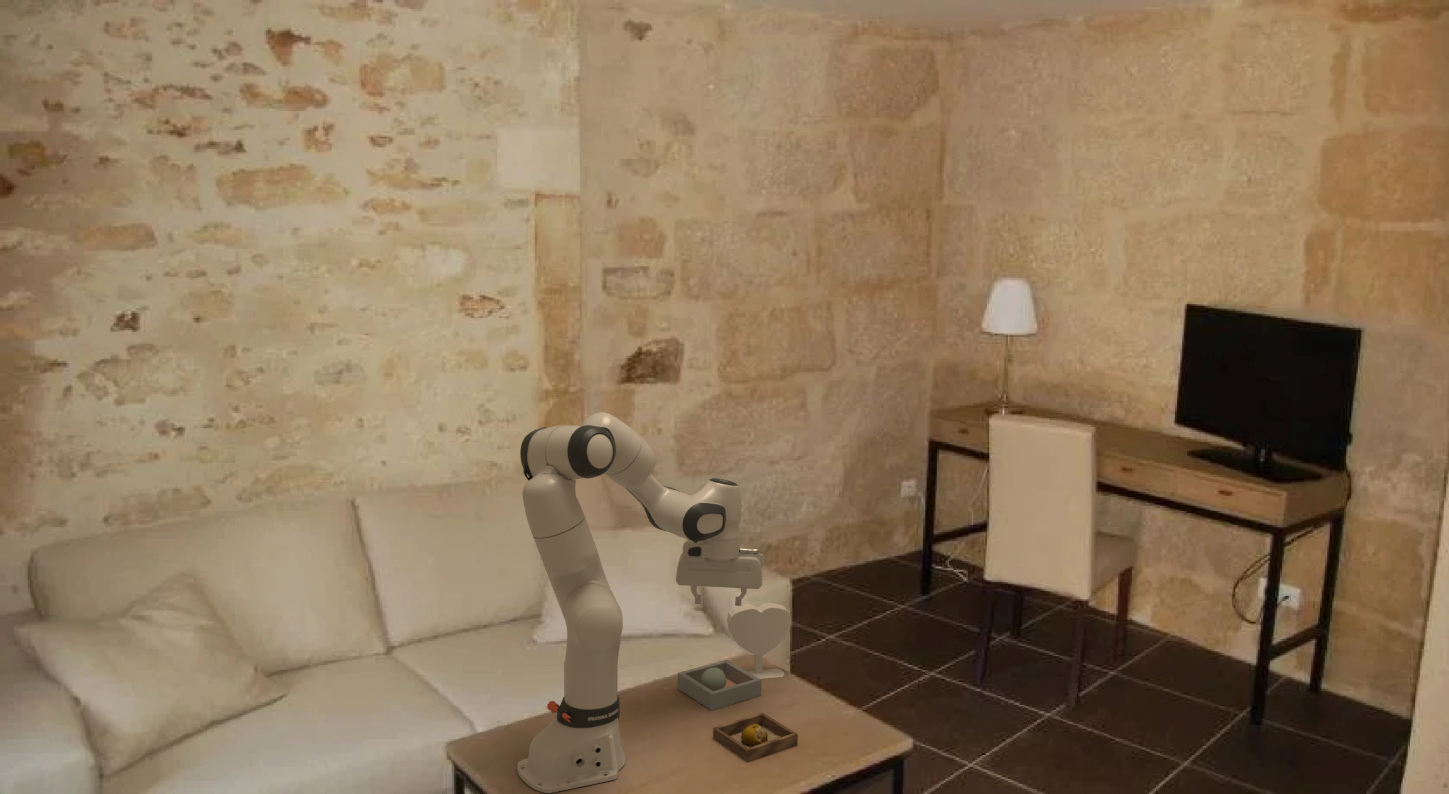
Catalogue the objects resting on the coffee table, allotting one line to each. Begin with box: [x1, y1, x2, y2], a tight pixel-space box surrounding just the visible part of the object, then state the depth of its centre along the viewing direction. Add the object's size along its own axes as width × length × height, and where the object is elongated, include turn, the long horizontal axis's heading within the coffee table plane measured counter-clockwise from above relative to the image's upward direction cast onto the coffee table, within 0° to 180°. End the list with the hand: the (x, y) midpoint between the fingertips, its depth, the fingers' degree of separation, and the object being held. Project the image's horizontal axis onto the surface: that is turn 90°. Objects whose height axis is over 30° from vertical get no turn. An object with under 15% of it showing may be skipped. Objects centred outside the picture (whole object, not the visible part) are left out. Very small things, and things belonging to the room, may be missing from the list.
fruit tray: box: [712, 712, 799, 763], centre depth 245 cm, size 14×13×2 cm
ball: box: [701, 668, 726, 691], centre depth 269 cm, size 6×6×6 cm
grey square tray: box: [677, 659, 762, 711], centre depth 270 cm, size 14×14×4 cm
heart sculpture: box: [726, 602, 792, 680], centre depth 279 cm, size 16×5×18 cm, turn 102°
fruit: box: [740, 724, 781, 748], centre depth 245 cm, size 8×8×4 cm
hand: (718, 604), depth 263 cm, fingers open, 8 cm apart
